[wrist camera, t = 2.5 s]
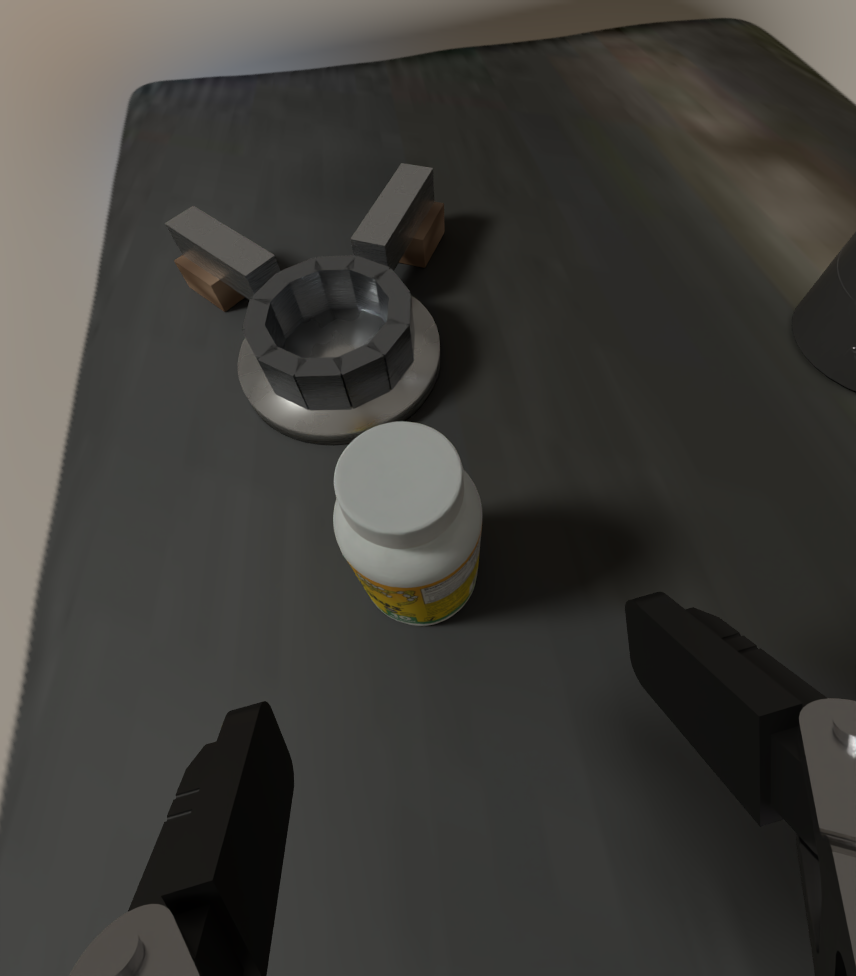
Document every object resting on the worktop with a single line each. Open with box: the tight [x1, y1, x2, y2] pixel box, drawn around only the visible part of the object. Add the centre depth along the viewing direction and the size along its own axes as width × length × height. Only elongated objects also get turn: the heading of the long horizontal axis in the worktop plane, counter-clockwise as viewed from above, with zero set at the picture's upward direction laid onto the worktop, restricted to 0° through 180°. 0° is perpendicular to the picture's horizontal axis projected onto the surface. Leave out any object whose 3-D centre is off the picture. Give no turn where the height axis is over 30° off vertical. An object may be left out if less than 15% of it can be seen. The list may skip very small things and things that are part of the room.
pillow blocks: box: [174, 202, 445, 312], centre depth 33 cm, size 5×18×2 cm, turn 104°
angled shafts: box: [165, 163, 434, 300], centre depth 31 cm, size 14×14×2 cm
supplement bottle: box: [333, 421, 482, 626], centre depth 19 cm, size 5×5×10 cm
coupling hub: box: [238, 255, 441, 445], centre depth 28 cm, size 12×12×4 cm
